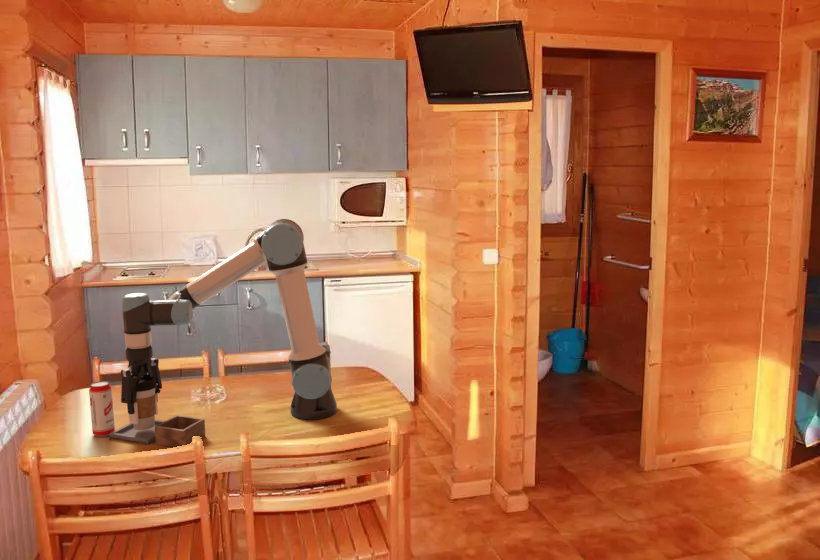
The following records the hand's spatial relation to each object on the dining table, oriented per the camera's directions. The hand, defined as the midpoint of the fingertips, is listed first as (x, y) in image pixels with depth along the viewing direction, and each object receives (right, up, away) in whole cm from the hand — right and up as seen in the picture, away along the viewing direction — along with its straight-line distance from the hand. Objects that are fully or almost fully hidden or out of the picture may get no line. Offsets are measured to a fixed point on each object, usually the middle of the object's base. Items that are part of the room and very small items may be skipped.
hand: (144, 418), depth 220 cm
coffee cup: (0, -3, 0) cm, 3 cm away
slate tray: (0, -5, +1) cm, 5 cm away
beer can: (-13, -5, +1) cm, 14 cm away
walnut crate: (+13, -6, -5) cm, 15 cm away
